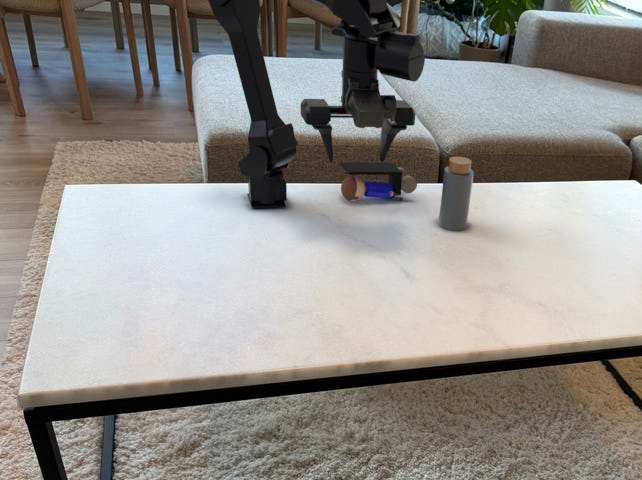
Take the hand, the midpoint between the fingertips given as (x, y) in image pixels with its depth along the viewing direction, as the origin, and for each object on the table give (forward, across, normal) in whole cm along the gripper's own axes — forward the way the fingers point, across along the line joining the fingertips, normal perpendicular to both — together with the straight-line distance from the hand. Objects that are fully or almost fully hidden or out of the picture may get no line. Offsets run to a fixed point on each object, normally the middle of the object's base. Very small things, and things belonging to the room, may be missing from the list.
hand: (356, 161), depth 122 cm
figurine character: (+13, +8, +14) cm, 21 cm away
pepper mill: (+13, +20, 0) cm, 24 cm away
